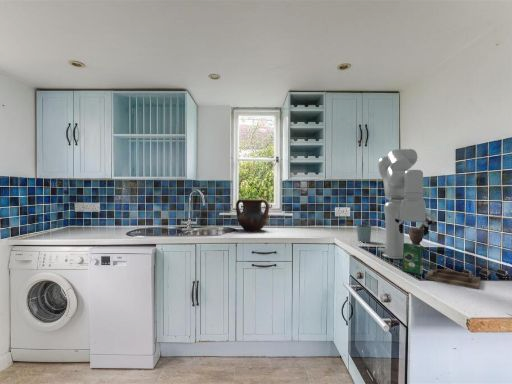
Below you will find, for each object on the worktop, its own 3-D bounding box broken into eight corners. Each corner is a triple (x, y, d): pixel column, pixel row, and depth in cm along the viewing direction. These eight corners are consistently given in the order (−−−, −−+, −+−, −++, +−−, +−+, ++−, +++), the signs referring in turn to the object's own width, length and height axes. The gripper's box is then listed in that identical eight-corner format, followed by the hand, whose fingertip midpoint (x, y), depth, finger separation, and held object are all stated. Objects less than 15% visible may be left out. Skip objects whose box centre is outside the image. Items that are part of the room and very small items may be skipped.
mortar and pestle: (422, 246, 188) (423, 217, 188) (431, 249, 179) (431, 218, 179) (406, 246, 188) (406, 217, 187) (413, 249, 179) (414, 218, 179)
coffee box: (423, 274, 125) (423, 245, 125) (420, 275, 124) (420, 246, 124) (405, 270, 132) (405, 242, 132) (402, 271, 130) (402, 243, 130)
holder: (424, 279, 119) (424, 272, 119) (430, 271, 129) (430, 266, 129) (478, 289, 107) (478, 282, 107) (480, 280, 117) (480, 273, 117)
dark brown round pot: (270, 229, 270) (271, 198, 270) (267, 233, 243) (268, 199, 242) (238, 228, 275) (238, 197, 275) (231, 232, 247) (231, 198, 247)
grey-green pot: (373, 241, 205) (373, 225, 205) (368, 243, 198) (368, 226, 198) (359, 240, 212) (359, 224, 212) (354, 241, 205) (354, 225, 205)
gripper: (390, 196, 131) (390, 233, 130) (434, 197, 119) (434, 237, 119) (395, 196, 136) (395, 231, 136) (437, 197, 125) (436, 235, 125)
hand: (413, 234), depth 127 cm, fingers open, 9 cm apart
